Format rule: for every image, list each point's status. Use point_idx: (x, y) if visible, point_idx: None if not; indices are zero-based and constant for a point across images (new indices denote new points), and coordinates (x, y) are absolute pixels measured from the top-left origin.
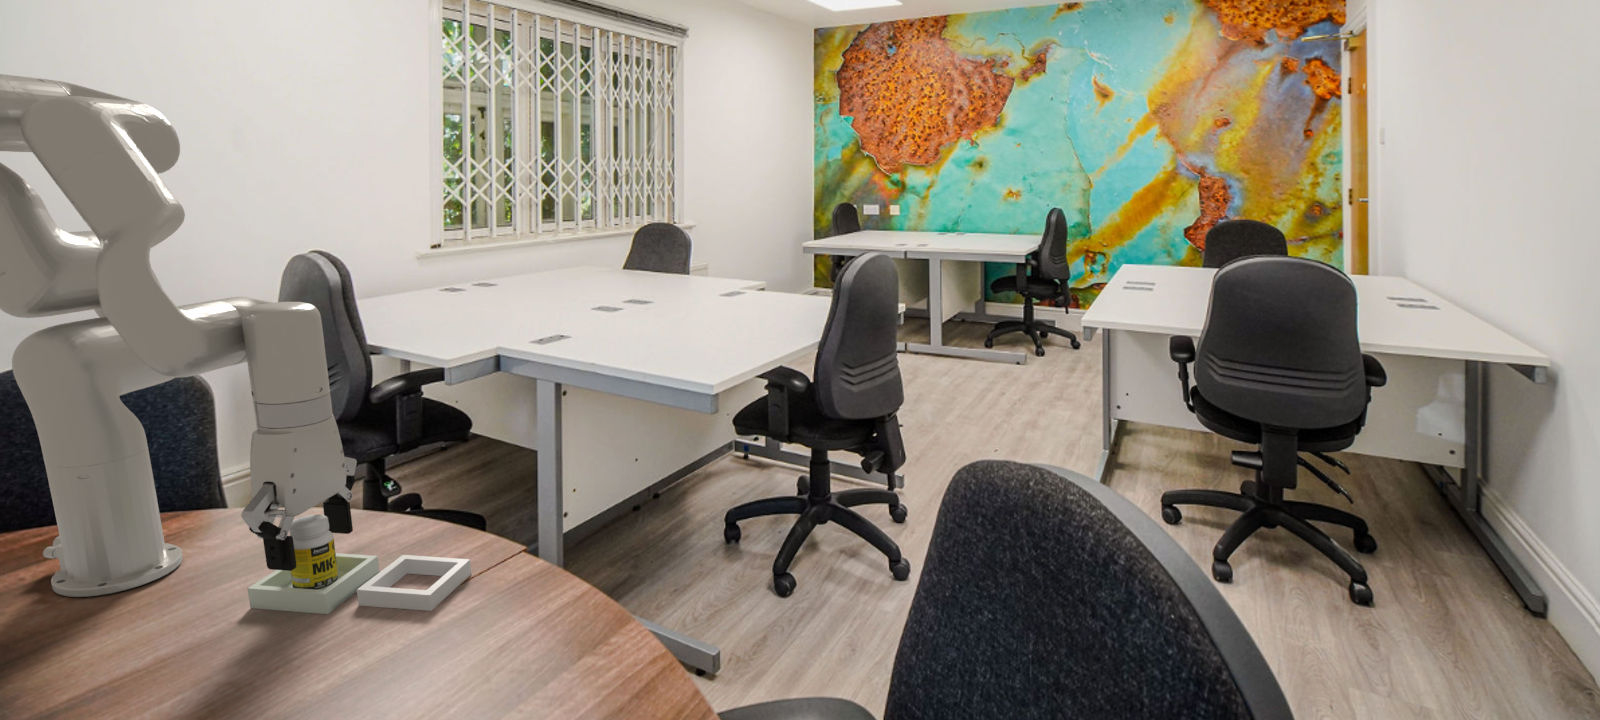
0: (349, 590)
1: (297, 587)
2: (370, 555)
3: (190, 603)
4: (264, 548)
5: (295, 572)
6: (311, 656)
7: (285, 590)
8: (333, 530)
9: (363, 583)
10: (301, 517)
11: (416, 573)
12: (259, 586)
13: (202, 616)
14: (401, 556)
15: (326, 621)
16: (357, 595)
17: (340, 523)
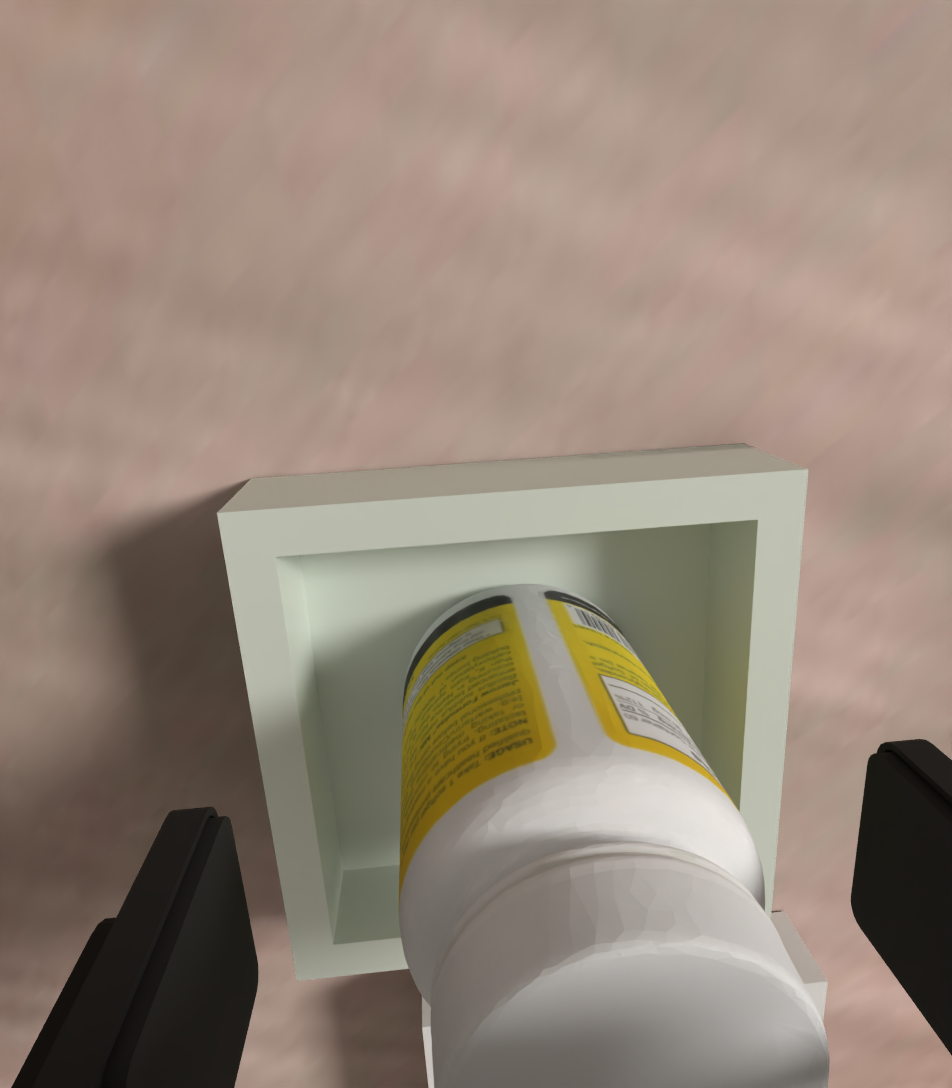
0: None
1: (404, 697)
2: (771, 893)
3: (181, 4)
4: (100, 953)
5: (403, 754)
6: (8, 1050)
7: (270, 762)
8: (875, 818)
9: None
10: (730, 970)
11: None
12: (263, 571)
13: (80, 262)
14: (807, 986)
15: (260, 920)
16: (422, 996)
17: (913, 932)
